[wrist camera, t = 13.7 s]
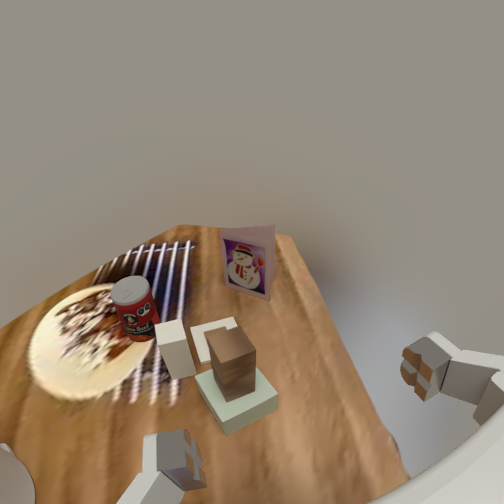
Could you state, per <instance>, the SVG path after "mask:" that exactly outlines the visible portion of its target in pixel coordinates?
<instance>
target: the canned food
mask: <svg viewBox="0 0 504 504" xmlns="http://www.w3.org/2000/svg"><path fill="white" fill-rule="evenodd" d="M111 298H112V301H113V304H114V306H115V308H116V311H117V313H118V315H119V317H120V320H121V322H122V324H123V326H124V329H125V331H126V333H127V335H128V336H129V337H130V338H131V339H132V340H134V341H138V342H144V341H148V340H150V339H152V338H153V337H155V336H156V331H155V325H156V324H160V319H159V315H158V312H157V309H156V306H155V303H154V299H153V296H152V293H151V289H150V286H149V284H148V281H147V280H146V279H145V278H143V277H141V276H130V277H126V278H124V279H122V280H120V281H119V282H117V283H116V284H115V285H114V286H113V288H112V290H111Z"/></svg>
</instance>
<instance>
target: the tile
mask: <svg viewBox="0 0 504 504" xmlns="http://www.w3.org/2000/svg"><path fill="white" fill-rule="evenodd" d="M234 327H237V324H236V322H235V320H234V318H233V317H230V318H226V319H222V320H218V321H215V322H211V323H207V324H203V325H199V326H195V327H191V328H190V330H191V333H192V337H193V340H194V343H195V347H196V350H197V353H198V356H199V359H200V362H201V365H203V364H206V363H210V362H211V359H210V353H209V347H208V341H207V337H208V336H211V335H214V334H217V333H220V332H223V331H226V330H228V329H231V328H234Z"/></svg>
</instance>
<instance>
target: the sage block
mask: <svg viewBox="0 0 504 504" xmlns="http://www.w3.org/2000/svg"><path fill="white" fill-rule="evenodd" d="M195 379H196V382H197V385H198V387H199V390H200V393H201V395H202V397H203V399H204V400H205V402H206V404H207V405H208V407H209V409H210V410H211V412H212V414H213V415H214V417H215V418H216V420H217V422H218V423H219V425H220V426H221V428H222V430H223V431H224V433H225V434H226V436H227V435H229V434H232V433H234V432H236V431H238V430H240V429H242V428H244V427H246V426H248V425H250V424H251V423H253V422H255V421H257V420H259V419H261V418H263V417H265V416H266V415H268V414H270V413H272V412H274V411H275V410H276V409H277V399H278V393H277V392H276V390H275V389H274V388H273V387H272V386H271V384H270V383H269V382H268V381H267V379H266V378H265V377H264V376H263V374H262V373H261V372H260V371H259V369H258V368H257V367H256V379H255V392H252V393H250V394H247V395H245V396H242V397H240V398H237V399H235V400H232V401H230V402H227V403H226V401H225V399H224V397H223V395H222V393H221V391H220V389H219V388H218V386H217V384H216V382H215V380H214V375H213V370H212V369H210V370H208V371H206V372H204V373H201V374H199V375H197V376H195Z"/></svg>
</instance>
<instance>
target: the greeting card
mask: <svg viewBox="0 0 504 504" xmlns="http://www.w3.org/2000/svg"><path fill="white" fill-rule="evenodd" d="M220 236H221V247H222V257H223V268H224V278H225V286H227V287H230V288H232V289H235V290H238V291H241V292H244V293H247V294H250V295H253V296H256V297H259V298H262V299H265V300H268V301H270V282H274V254H275V225H268V226H255V227H242V228H228V229H220Z"/></svg>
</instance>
